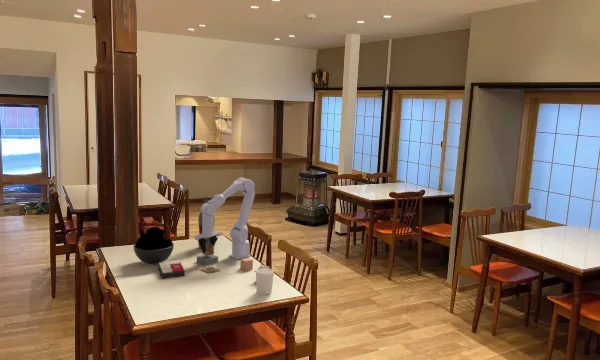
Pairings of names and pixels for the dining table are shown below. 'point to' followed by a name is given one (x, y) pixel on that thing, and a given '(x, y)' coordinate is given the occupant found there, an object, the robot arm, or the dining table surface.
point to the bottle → (201, 223)
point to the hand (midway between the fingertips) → (207, 250)
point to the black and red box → (171, 269)
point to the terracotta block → (246, 264)
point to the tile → (210, 270)
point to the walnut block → (209, 249)
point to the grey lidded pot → (264, 267)
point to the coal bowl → (153, 246)
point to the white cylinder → (264, 280)
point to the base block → (207, 259)
